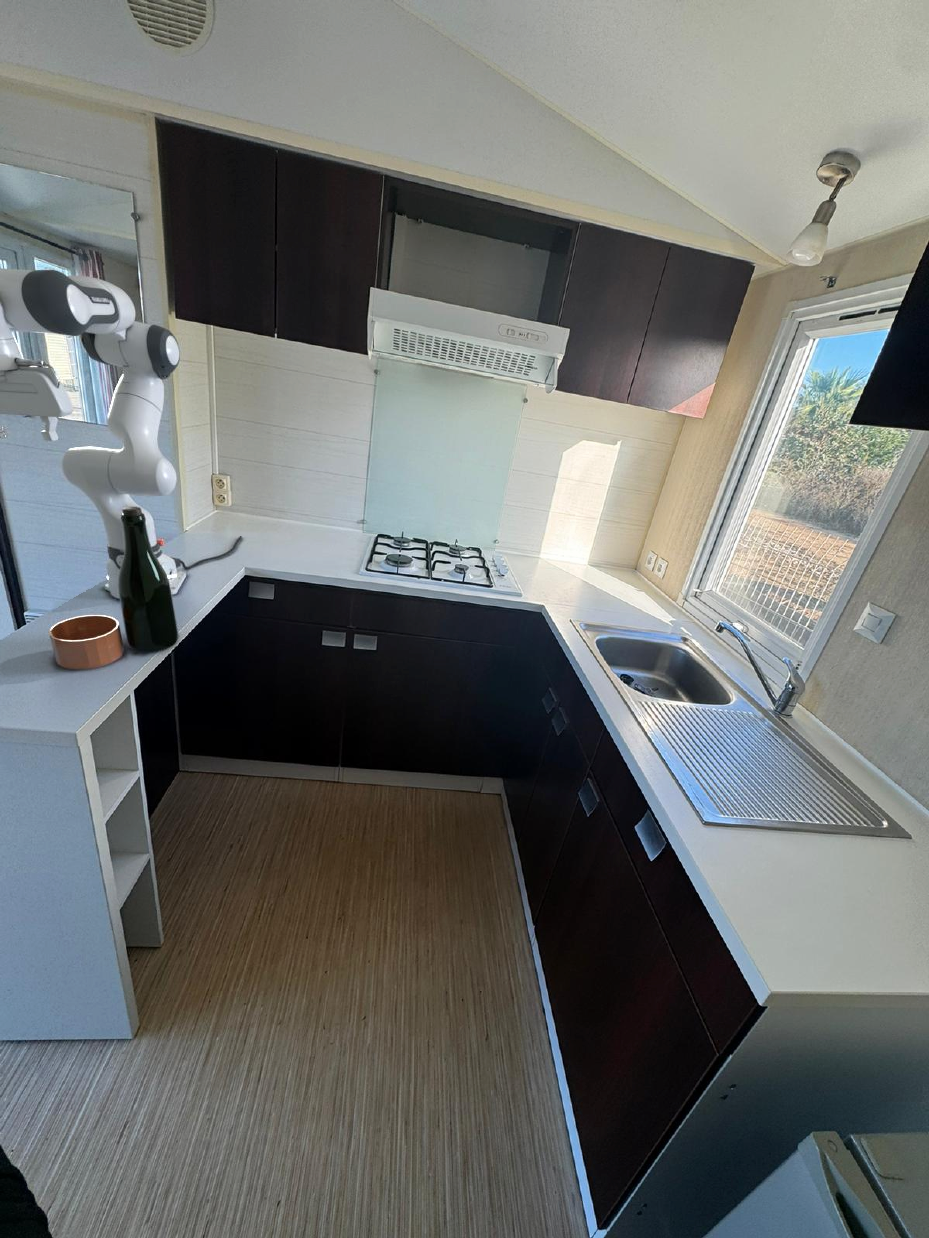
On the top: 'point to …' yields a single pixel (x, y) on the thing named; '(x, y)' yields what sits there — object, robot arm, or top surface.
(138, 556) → the green wine bottle
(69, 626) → the copper bottle coaster
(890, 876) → the top surface
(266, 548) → the top surface
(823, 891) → the top surface
